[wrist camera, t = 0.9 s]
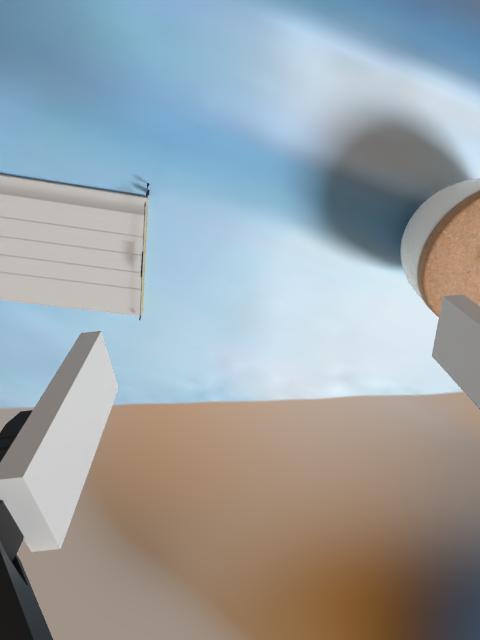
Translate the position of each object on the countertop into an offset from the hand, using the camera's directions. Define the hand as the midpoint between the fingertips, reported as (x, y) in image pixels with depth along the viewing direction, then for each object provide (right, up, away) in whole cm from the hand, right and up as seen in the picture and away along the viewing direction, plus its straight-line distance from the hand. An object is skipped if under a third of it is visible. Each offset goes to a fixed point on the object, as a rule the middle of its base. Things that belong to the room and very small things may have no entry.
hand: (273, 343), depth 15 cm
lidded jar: (+16, +9, +19) cm, 26 cm away
